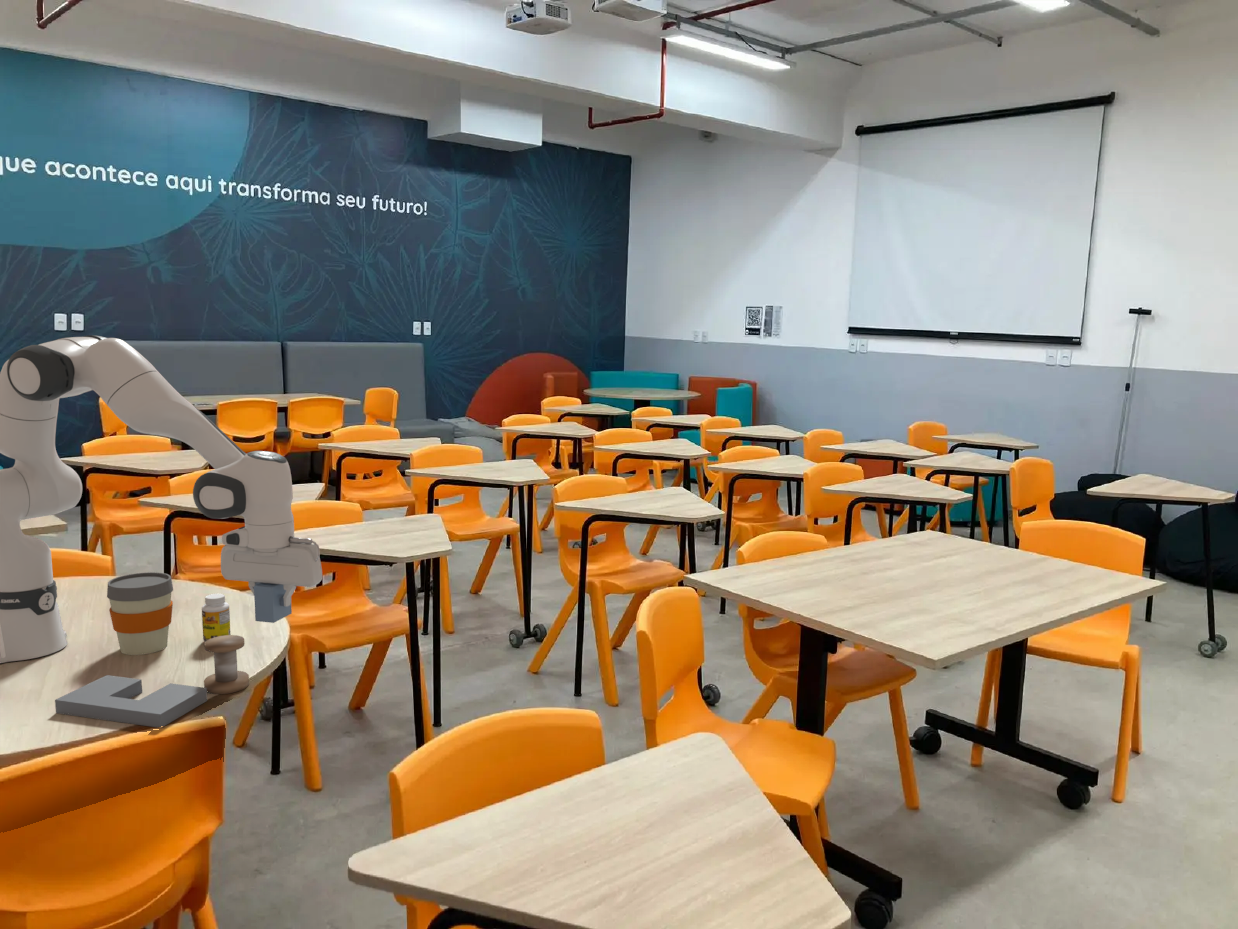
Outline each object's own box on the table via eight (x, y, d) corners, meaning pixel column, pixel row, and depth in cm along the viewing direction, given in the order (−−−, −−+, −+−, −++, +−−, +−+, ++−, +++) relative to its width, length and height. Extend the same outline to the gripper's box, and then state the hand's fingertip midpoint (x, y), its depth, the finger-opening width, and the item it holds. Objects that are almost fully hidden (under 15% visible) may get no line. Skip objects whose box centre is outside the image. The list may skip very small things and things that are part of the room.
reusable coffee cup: (149, 660, 190) (145, 590, 187) (96, 655, 192) (91, 586, 190) (189, 640, 202) (185, 574, 199) (139, 635, 204) (134, 570, 202)
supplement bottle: (197, 642, 201) (195, 597, 199) (219, 634, 206) (217, 590, 204) (214, 647, 198) (212, 601, 197) (236, 639, 203) (234, 594, 201)
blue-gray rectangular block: (255, 621, 177) (253, 586, 176) (273, 611, 183) (272, 577, 182) (273, 622, 176) (272, 587, 175) (291, 613, 182) (290, 579, 181)
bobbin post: (195, 691, 175) (192, 646, 173) (222, 676, 182) (220, 632, 181) (231, 696, 173) (229, 650, 171) (257, 680, 181) (255, 636, 179)
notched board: (56, 713, 164) (54, 699, 164) (107, 687, 176) (106, 675, 175) (161, 728, 159) (160, 714, 159) (207, 700, 171) (206, 688, 170)
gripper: (327, 535, 178) (329, 604, 180) (234, 528, 182) (238, 595, 185) (309, 542, 172) (312, 613, 174) (213, 535, 176) (217, 604, 178)
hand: (273, 604), depth 179 cm, fingers closed on blue-gray rectangular block, 4 cm apart
